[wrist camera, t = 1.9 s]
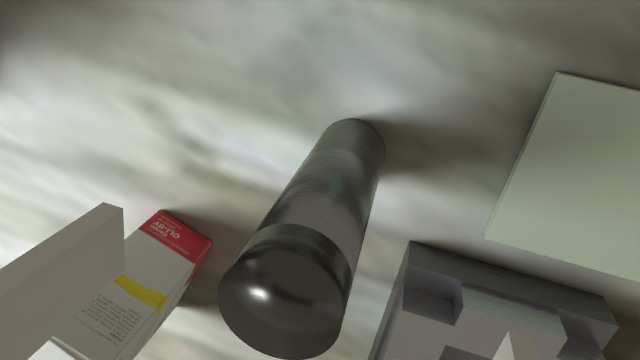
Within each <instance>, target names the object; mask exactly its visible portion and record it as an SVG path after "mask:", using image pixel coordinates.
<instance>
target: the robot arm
mask: <svg viewBox="0 0 640 360" xmlns="http://www.w3.org/2000/svg"><path fill="white" fill-rule="evenodd" d="M124 271H125V251H124V223H123V208H120V207H117V206H114V205H111V204H107V203H104V202H103V203H101V204H100V205H98V206H97V207H95V208H94V209H92V210H91V211H89V212H88V213H86V214H85V215H83V216H81V217H80V218H78V219H77V220H75V221H74V222H72V223H71V224H69V225H68V226H66V227H65V228H63V229H61V230H60V231H58V232H57V233H55V234H54V235H52V236H51V237H49V238H48V239H46V240H45V241H43V242H42V243H40V244H38V245H37V246H35V247H34V248H32V249H31V250H29V251H28V252H26V253H25V254H23V255H22V256H20V257H19V258H17V259H15V260H14V261H12V262H11V263H9V264H8V265H6V266H5V267H3V268H2V269H0V360H28V359H29V358H30V357H31V356H32V355H33V354H34V353H35V352H36V351H38V350H39V349H40V348H41V347H42V346H43V345H44V344H45V343H46V342H47V341H48V340H49V339H51V338H52V337H53V336H54V335H55V334H56V333H57V332H58V331H59V330H60V329H61V328H63V327H64V326H65V325H66V324H67V323H68V322H69V321H70V320H71V319H72V318H73V317H75V316H76V315H77V314H78V313H79V312H80V311H81V310H82V309H83V308H84V307H85V306H87V305H88V304H89V303H90V302H91V301H92V300H93V299H94V298H95V297H96V296H97V295H99V294H100V293H101V292H102V291H103V290H104V289H105V288H106V287H107V286H108V285H109V284H111V283H112V282H113V281H114V280H115V279H116V278H117V277H118V276H119V275H120V274H121V273H123V272H124ZM492 360H540V358H539V354H538V351H537V347H536V344H535V340H534V339H532V338H529V337H526V336H523V335H520V334H517V333H514V332H510V331H508V332H507V334H506V336H505V338H504V340H503V341H502V343H501V345H500V347H499V349H498V350H497V352H496V354H495V356H494V358H493V359H492Z"/></svg>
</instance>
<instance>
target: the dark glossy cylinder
mask: <svg viewBox="0 0 640 360" xmlns="http://www.w3.org/2000/svg"><path fill="white" fill-rule="evenodd" d="M384 157H385V146H384V142H383V139H382V137H381V136H380V134H379V133H378V131H377V130H376V129H375V128H374V127H372V126H371V125H370V124H368V123H366V122H364V121H361V120H358V119H343V120H340V121H337V122H335V123H333V124H332V125H330V126H329V127H328V128H327V129H326V131H325V132H324V133H323V135H322V136H321V138H320V139H319V140H318V142H317V143H316V145H315V146H314V148H313V149H312V150H311V152H310V153H309V155H308V156H307V158H306V159H305V160H304V162H303V163H302V165H301V166H300V168H299V169H298V171H297V172H296V173H295V175H294V176H293V178H292V179H291V181H290V182H289V183H288V185H287V186H286V188H285V189H284V191H283V192H282V193H281V195H280V196H279V198H278V199H277V201H276V202H275V203H274V205H273V206H272V208H271V209H270V211H269V212H268V214H267V215H266V216H265V218H264V219H263V221H262V222H261V224H260V225H259V226H258V228H257V229H256V231H255V232H254V234H253V235H252V236H251V238H250V239H249V241H248V242H247V244H246V245H245V246H244V248H243V249H242V251H241V252H240V254H239V255H238V257H237V258H236V259H235V261H234V262H233V264H232V265H231V267H230V268H229V269H228V271H227V272H226V274H225V275H224V277H223V278H222V280H221V282H220V285H219V289H218V305H219V309H220V312H221V314H222V316H223V319H224V320H225V322H226V324H227V325H228V326H229V328H230V329H231V330H232V331H233V333H234V334H235V335H236V336H237V337H238V338H240V339H241V340H242V341H243V342H244V343H246V344H247V345H249V346H250V347H252V348H253V349H255V350H257V351H259V352H261V353H264V354H266V355H269V356H272V357H275V358H280V359H286V360H304V359H309V358H313V357H316V356H318V355H320V354H322V353H324V352H326V351H327V350H328V349H329V348H330V347H331V346H332V345H333V344H334V343H335V341H336V340H337V338H338V335H339V333H340V329H341V325H342V321H343V318H344V314H345V310H346V306H347V302H348V298H349V294H350V290H351V286H352V282H353V279H354V275H355V271H356V267H357V263H358V259H359V255H360V251H361V247H362V243H363V239H364V236H365V232H366V228H367V224H368V220H369V216H370V212H371V208H372V204H373V200H374V196H375V193H376V189H377V185H378V181H379V177H380V173H381V169H382V165H383V161H384Z"/></svg>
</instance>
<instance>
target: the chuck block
mask: <svg viewBox="0 0 640 360" xmlns="http://www.w3.org/2000/svg"><path fill="white" fill-rule="evenodd" d="M618 328H619V325H618V323H617V321H616V320H615V318H614V316H613V314H612V312H611V310H610V309H609V307H608V305H607V303H606V301H605V300H604V298H603V297H601V296H598V295H594V294H591V293H588V292H584V291H581V290H577V289H574V288H570V287H567V286H563V285H560V284H557V283H553V282H550V281H546V280H543V279H539V278H536V277H532V276H529V275H526V274H522V273H519V272H515V271H512V270H508V269H505V268H502V267H498V266H495V265H491V264H488V263H484V262H481V261H477V260H474V259H471V258H467V257H464V256H460V255H457V254H453V253H450V252H446V251H443V250H440V249H436V248H433V247H429V246H426V245H422V244H419V243H415V242H412V241H409V244H408V247H407V250H406V252H405V255H404V258H403V261H402V264H401V267H400V269H399V272H398V275H397V278H396V281H395V284H394V286H393V289H392V292H391V295H390V298H389V301H388V303H387V306H386V309H385V312H384V315H383V318H382V320H381V323H380V326H379V329H378V332H377V335H376V337H375V340H374V343H373V346H372V349H371V352H370V354H369V357H368V360H492V359H493V358H494V356H495V354H496V352H497V350H498V349H499V347H500V345H501V343H502V341H503V340H504V338H505V336H506V334H507V332H508V331H510V332H514V333H517V334H520V335H523V336H526V337H529V338H532V339H534V340H535V344H536V347H537V351H538V354H539V358H540V360H605V358H604V356H603V354H602V350H603V349H604V348H605V346H606V345H607V343H608V342H609V341H610V339H611V338H612V337H613V335H614V334H615V332H616V331H617V330H618Z"/></svg>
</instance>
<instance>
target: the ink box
mask: <svg viewBox="0 0 640 360" xmlns="http://www.w3.org/2000/svg"><path fill="white" fill-rule="evenodd" d="M211 245H212V242H211V241H210V240H208V239H206V238H204V237H202V236H201V235H199V234H198V233H196V232H195V231H193V230H192V229H190V228H188V227H187V226H185V225H184V224H182V223H181V222H179V221H177V220H176V219H174V218H173V217H171V216H169V215H168V214H166V213H164V212H163V211H161V210H158V212H157V213H156V214H154V215H153V216H152V217H151V218H150V219H148V220H147V221H146V222H145V223H144V224H143V225H141V226H140V227H139V228H138V229H137V230H135V231H134V232H133V233H132V234H131V235H129V236H128V237H127V238H126V239H125V240H124V251H125V271H124V272H123V273H121V274H120V275H119V276H118V277H117V278H116V279H115V280H114V281H113V282H112V283H111V284H109V285H108V286H107V287H106V288H105V289H104V290H103V291H102V292H101V293H100V294H99V295H97V296H96V297H95V298H94V299H93V300H92V301H91V302H90V303H89V304H88V305H87V306H85V307H84V308H83V309H82V310H81V311H80V312H79V313H78V314H77V315H76V316H75V317H73V318H72V319H71V320H70V321H69V322H68V323H67V324H66V325H65V326H64V327H63V328H61V329H60V330H59V331H58V332H57V333H56V334H55V335H54V336H53V337H52V338H51V339H49V340H48V341H47V342H46V343H45V344H44V345H43V346H42V347H41V348H40V349H39V350H38V351H36V352H35V353H34V354H33V355H32V356H31V357H30V358H29V359H28V360H133V359H134V358H135V356H136V355H137V354H138V353H139V352H140V350H141V349H142V348H143V347H144V345H145V344H146V343H147V342H148V341H149V339H150V338H151V337H152V336H153V334H154V333H155V332H156V331H157V330H158V328H159V327H160V326H161V325H162V323H163V322H164V321H165V320H166V318H167V317H168V316H169V315H170V314H171V312H172V311H173V310H174V309H175V307H176V306H177V304H178V302H179V301H180V299H181V297H182V296H183V294H184V292H185V290H186V289H187V287H188V285H189V283H190V281H191V280H192V278H193V276H194V275H195V273H196V271H197V269H198V267H199V266H200V264H201V262H202V261H203V259H204V257H205V256H206V254H207V252H208V251H209V249H210V247H211Z"/></svg>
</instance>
